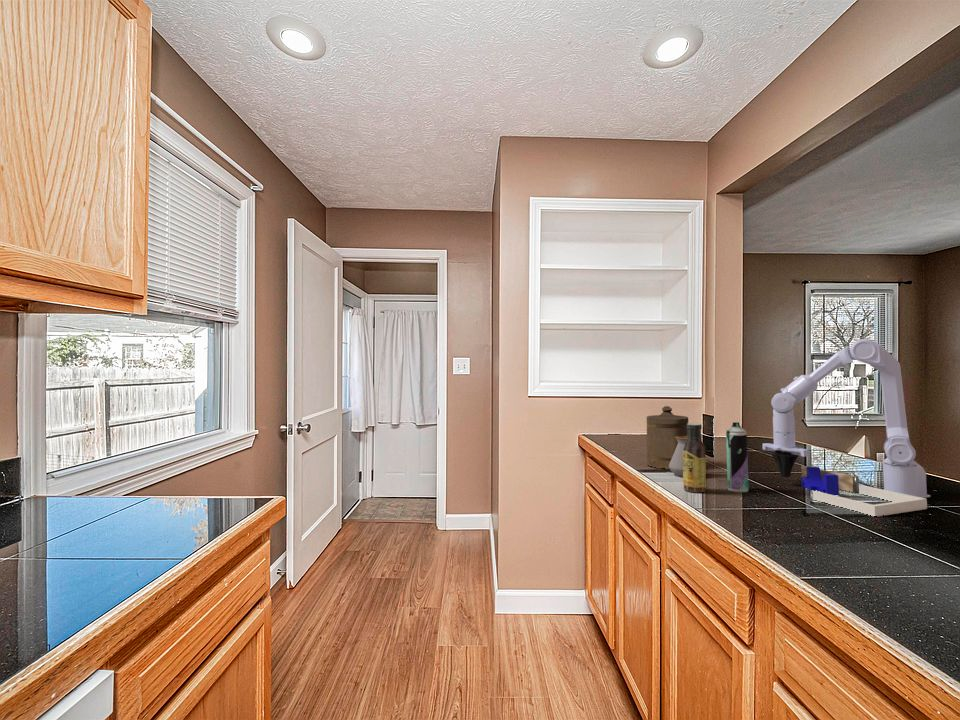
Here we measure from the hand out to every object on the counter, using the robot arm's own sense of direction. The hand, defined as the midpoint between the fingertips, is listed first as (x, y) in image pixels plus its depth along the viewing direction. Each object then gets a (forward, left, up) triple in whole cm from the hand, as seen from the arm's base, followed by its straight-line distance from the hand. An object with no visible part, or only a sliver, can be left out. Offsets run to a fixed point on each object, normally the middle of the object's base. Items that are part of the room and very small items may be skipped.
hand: (785, 476), depth 154 cm
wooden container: (+13, -38, -3) cm, 40 cm away
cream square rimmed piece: (0, +24, -2) cm, 24 cm away
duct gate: (-8, +7, -2) cm, 11 cm away
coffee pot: (+20, -18, -3) cm, 27 cm away
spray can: (+18, 0, -3) cm, 18 cm away
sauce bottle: (+30, -4, -3) cm, 30 cm away
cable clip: (-2, +9, -3) cm, 10 cm away
